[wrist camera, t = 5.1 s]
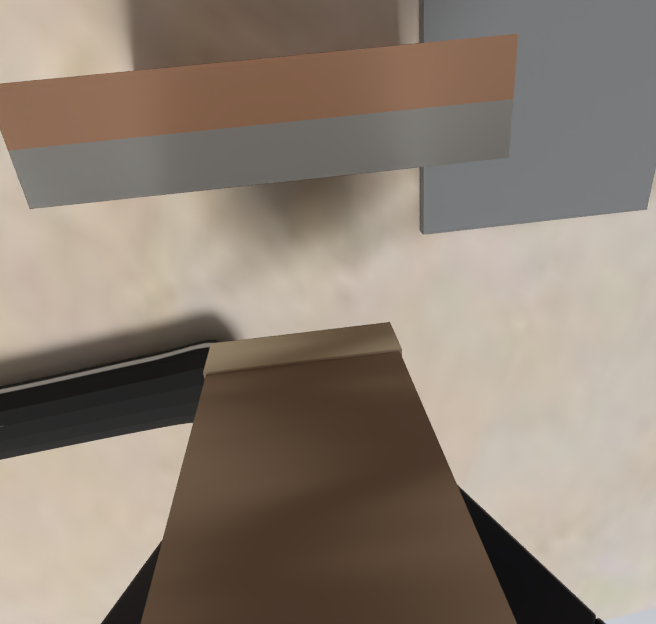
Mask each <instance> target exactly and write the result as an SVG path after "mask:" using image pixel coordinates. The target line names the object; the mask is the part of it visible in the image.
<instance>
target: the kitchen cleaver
mask: <svg viewBox="0 0 656 624" xmlns="http://www.w3.org/2000/svg"><path fill="white" fill-rule="evenodd" d="M211 343H219V342H218V341H203V342H198V343H194V344H190V345H187V346H183V347H179V348H176V349H172V350H168V351H164V352H160V353H155V354H151V355H146V356H141V357H137V358H132V359H128V360H123V361H118V362H114V363H109V364H105V365H100V366H96V367H91V368H87V369H82V370H78V371H73V372H69V373H64V374H60V375H55V376H51V377H46V378H41V379H37V380H32V381H27V382H22V383H17V384H12V385H8V386H3V387H0V460H1V459H6V458H11V457H16V456H20V455H25V454H30V453H35V452H40V451H45V450H50V449H54V448H59V447H64V446H69V445H74V444H79V443H84V442H89V441H94V440H99V439H104V438H109V437H114V436H119V435H125V434H130V433H135V432H140V431H145V430H150V429H156V428H161V427H167V426H172V425H178V424H185V423H193V422H194V418H195V415H196V411H197V407H198V403H199V399H200V396H201V392H202V388H203V384H204V380H205V378H204V374H203V371H204V368H205V364H206V360H207V357H208V353H209V349H210V346H211Z"/></svg>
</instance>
